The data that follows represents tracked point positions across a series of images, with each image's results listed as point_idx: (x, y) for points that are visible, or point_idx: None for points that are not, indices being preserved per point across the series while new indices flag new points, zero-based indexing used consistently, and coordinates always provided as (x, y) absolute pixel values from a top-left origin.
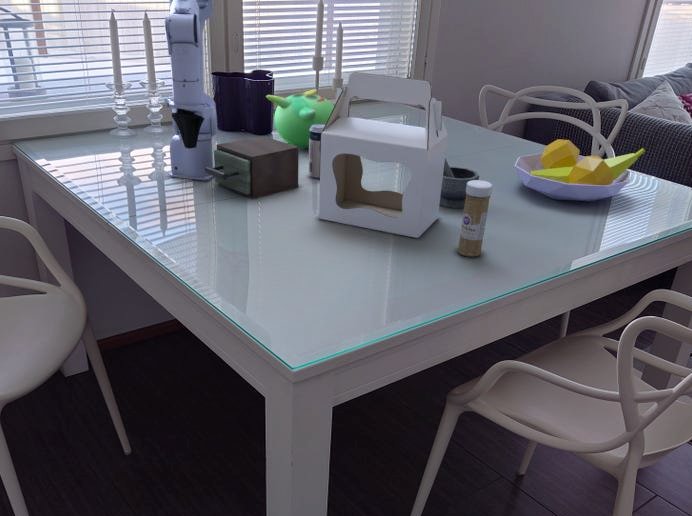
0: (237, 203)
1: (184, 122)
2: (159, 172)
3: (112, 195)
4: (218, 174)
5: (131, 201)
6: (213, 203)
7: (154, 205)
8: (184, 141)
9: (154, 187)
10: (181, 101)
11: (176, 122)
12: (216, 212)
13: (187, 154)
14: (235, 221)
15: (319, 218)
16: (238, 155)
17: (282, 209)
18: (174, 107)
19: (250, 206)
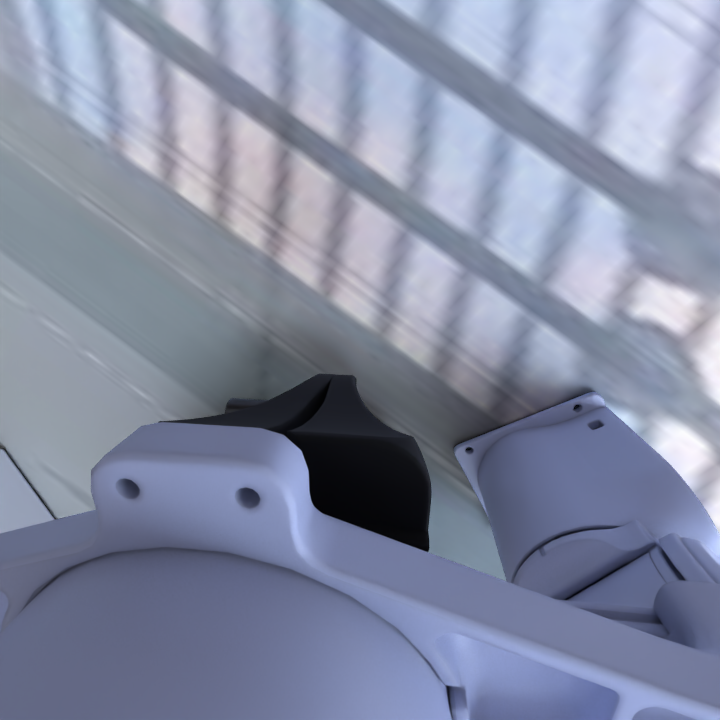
0: (214, 378)
1: (199, 420)
2: (677, 395)
3: (598, 47)
4: (253, 404)
5: (465, 78)
6: (254, 322)
7: (360, 134)
8: (334, 382)
9: (542, 268)
10: (25, 626)
11: (368, 425)
12: (174, 274)
13: (556, 480)
14: (75, 267)
15: (3, 449)
16: None
17: (108, 433)
18: (128, 438)
19: (171, 388)
